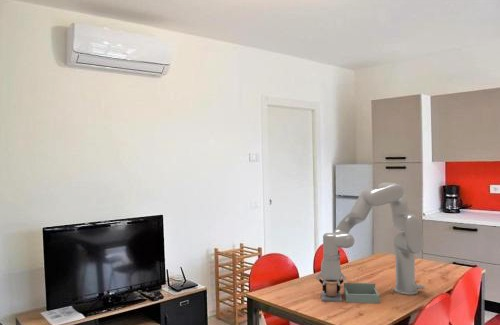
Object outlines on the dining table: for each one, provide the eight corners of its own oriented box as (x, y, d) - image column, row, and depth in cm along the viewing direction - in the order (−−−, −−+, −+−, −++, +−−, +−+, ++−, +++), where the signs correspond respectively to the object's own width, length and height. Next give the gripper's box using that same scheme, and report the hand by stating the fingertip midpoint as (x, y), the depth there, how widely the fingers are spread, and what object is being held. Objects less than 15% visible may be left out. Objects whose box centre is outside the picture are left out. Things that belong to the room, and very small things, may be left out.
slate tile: (340, 294, 217) (340, 292, 217) (342, 301, 205) (342, 299, 205) (320, 293, 218) (320, 291, 218) (322, 301, 206) (321, 299, 206)
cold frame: (375, 294, 215) (374, 283, 215) (379, 303, 202) (379, 291, 202) (343, 294, 217) (343, 282, 217) (346, 302, 204) (346, 290, 204)
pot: (337, 292, 214) (337, 278, 214) (338, 296, 207) (338, 282, 207) (324, 291, 215) (323, 278, 215) (324, 296, 208) (324, 282, 208)
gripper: (347, 255, 214) (347, 290, 214) (313, 255, 216) (314, 289, 216) (348, 259, 207) (349, 295, 207) (314, 258, 209) (314, 294, 209)
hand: (331, 292), depth 211 cm, fingers closed on pot, 5 cm apart
